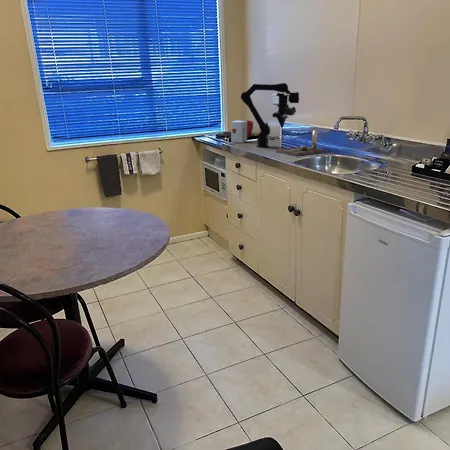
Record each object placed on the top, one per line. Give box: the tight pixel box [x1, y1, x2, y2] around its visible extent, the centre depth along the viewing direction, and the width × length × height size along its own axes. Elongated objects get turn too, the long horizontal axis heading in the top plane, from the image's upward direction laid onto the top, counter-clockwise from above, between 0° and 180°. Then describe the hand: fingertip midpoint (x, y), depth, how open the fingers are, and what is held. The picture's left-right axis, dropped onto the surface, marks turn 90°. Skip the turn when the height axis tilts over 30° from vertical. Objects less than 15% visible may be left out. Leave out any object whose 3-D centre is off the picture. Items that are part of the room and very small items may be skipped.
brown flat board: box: [276, 146, 325, 157], centre depth 267 cm, size 24×18×2 cm
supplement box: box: [230, 120, 248, 144], centre depth 309 cm, size 9×9×15 cm
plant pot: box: [244, 119, 254, 138], centre depth 336 cm, size 13×13×12 cm
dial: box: [291, 129, 319, 151], centre depth 264 cm, size 19×4×11 cm, turn 116°
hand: (282, 127), depth 284 cm, fingers closed
